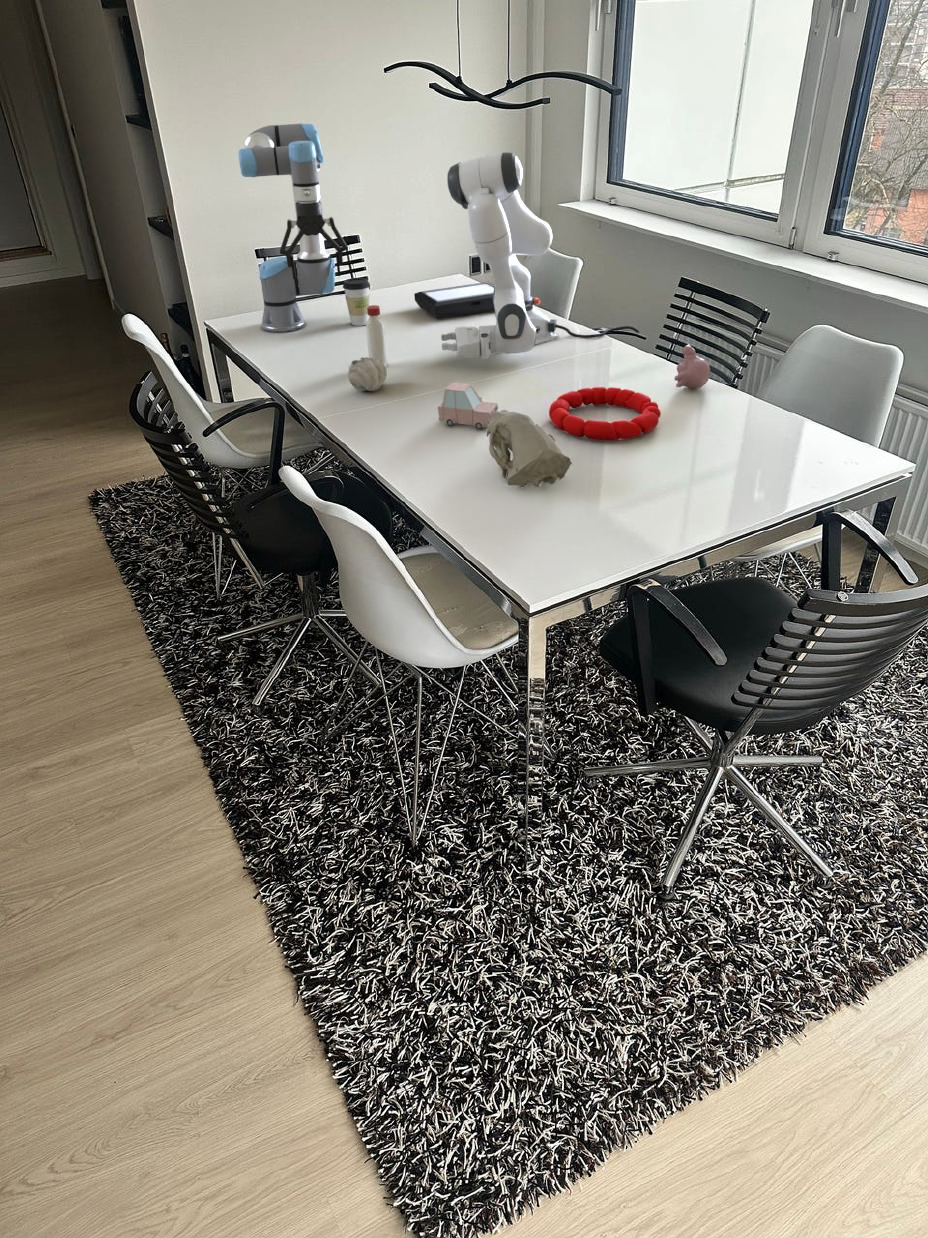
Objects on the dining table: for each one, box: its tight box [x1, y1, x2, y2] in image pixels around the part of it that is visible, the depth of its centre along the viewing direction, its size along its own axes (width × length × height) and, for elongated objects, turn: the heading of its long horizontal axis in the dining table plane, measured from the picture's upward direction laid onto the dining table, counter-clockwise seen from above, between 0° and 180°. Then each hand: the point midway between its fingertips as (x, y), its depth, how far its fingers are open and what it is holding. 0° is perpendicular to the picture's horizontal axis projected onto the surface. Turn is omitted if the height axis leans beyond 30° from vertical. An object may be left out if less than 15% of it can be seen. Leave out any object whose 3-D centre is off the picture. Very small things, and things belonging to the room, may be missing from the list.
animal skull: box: [485, 409, 573, 489], centre depth 216 cm, size 17×25×20 cm
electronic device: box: [413, 281, 495, 320], centre depth 337 cm, size 32×6×20 cm
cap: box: [367, 304, 381, 317], centre depth 278 cm, size 4×4×2 cm
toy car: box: [437, 382, 499, 431], centre depth 243 cm, size 9×15×10 cm, turn 70°
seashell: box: [347, 356, 388, 392], centre depth 266 cm, size 10×15×10 cm
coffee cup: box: [342, 277, 371, 327], centre depth 323 cm, size 10×10×15 cm
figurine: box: [674, 344, 711, 390], centre depth 259 cm, size 9×11×12 cm
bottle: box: [365, 315, 388, 367], centre depth 282 cm, size 6×6×18 cm
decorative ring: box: [548, 386, 661, 442], centre depth 242 cm, size 7×30×30 cm
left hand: (316, 276), depth 273 cm, fingers open, 13 cm apart
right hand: (441, 341), depth 284 cm, fingers open, 8 cm apart
